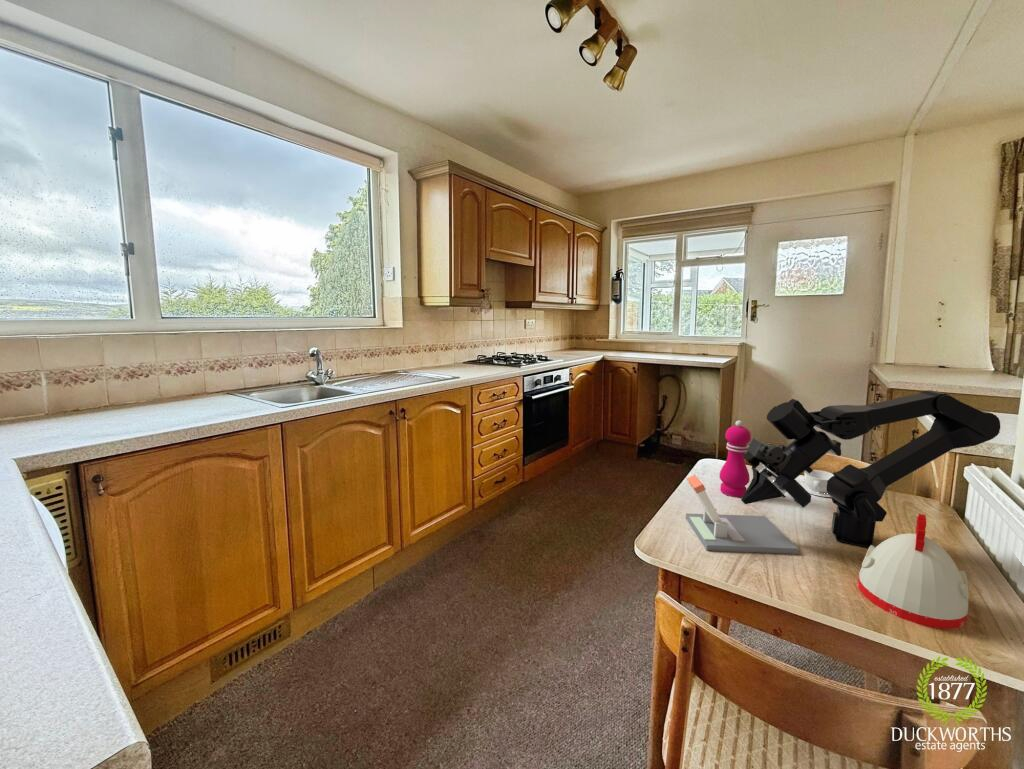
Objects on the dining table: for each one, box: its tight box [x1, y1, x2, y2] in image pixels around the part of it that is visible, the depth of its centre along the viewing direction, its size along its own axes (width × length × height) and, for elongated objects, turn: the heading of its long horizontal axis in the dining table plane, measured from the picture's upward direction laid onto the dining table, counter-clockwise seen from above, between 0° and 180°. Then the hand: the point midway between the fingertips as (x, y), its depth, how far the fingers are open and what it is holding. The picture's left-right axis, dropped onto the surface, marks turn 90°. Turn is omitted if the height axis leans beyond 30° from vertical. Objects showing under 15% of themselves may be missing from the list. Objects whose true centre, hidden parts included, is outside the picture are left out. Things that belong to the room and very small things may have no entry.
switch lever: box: [686, 474, 722, 524], centre depth 96 cm, size 2×5×10 cm, turn 173°
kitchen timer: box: [857, 513, 970, 630], centre depth 74 cm, size 14×14×15 cm
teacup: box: [798, 469, 834, 498], centre depth 119 cm, size 10×10×5 cm
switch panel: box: [685, 508, 799, 555], centre depth 96 cm, size 18×14×4 cm
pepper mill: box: [718, 420, 752, 498], centre depth 117 cm, size 7×7×20 cm
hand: (743, 502), depth 95 cm, fingers closed
